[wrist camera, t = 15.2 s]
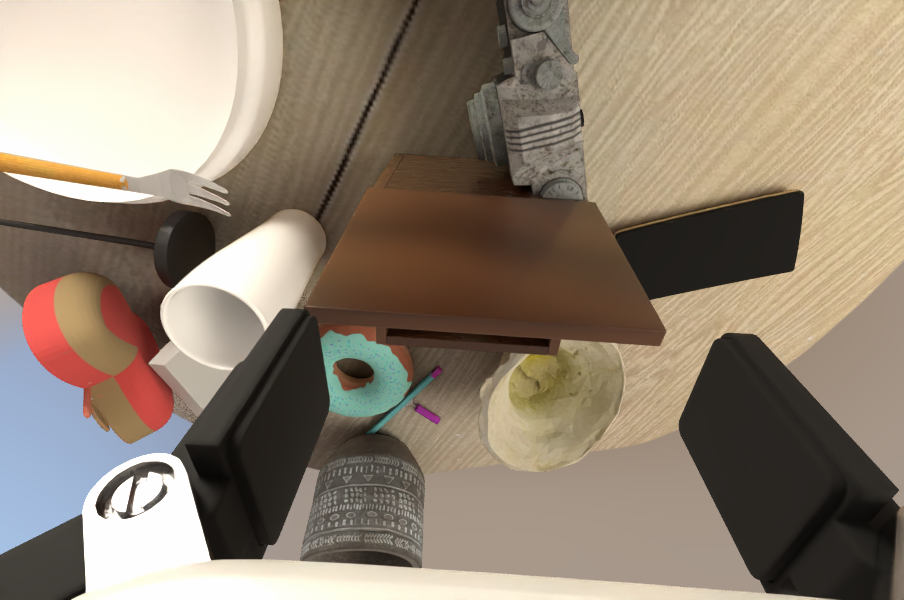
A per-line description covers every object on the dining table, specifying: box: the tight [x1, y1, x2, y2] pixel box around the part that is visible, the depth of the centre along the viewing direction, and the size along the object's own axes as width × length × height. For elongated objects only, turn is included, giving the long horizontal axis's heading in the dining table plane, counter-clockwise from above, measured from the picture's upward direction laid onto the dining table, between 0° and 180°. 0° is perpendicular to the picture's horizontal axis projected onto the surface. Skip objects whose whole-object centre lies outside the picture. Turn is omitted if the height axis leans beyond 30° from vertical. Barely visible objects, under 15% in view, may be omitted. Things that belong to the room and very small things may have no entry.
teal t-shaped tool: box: [364, 366, 442, 435], centre depth 50 cm, size 15×1×5 cm
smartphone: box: [614, 190, 804, 300], centre depth 38 cm, size 7×1×15 cm
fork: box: [0, 152, 231, 217], centre depth 31 cm, size 2×2×20 cm
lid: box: [304, 188, 666, 346], centre depth 21 cm, size 12×14×1 cm
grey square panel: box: [148, 341, 232, 417], centre depth 42 cm, size 12×11×4 cm
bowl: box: [478, 340, 626, 472], centre depth 41 cm, size 15×14×10 cm
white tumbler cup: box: [160, 209, 326, 371], centre depth 33 cm, size 7×7×15 cm
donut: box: [318, 324, 414, 417], centre depth 44 cm, size 12×12×4 cm
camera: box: [467, 0, 588, 201], centre depth 28 cm, size 15×7×10 cm, turn 14°
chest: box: [372, 154, 588, 356], centre depth 34 cm, size 12×14×10 cm
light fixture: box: [0, 210, 215, 288], centre depth 37 cm, size 7×7×25 cm
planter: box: [300, 434, 425, 568], centre depth 48 cm, size 12×12×13 cm
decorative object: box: [22, 272, 174, 444], centre depth 37 cm, size 14×4×15 cm
